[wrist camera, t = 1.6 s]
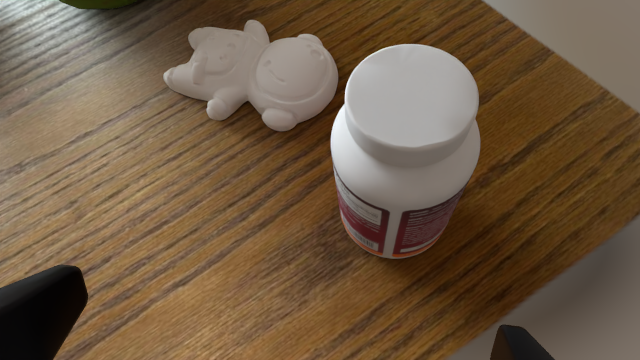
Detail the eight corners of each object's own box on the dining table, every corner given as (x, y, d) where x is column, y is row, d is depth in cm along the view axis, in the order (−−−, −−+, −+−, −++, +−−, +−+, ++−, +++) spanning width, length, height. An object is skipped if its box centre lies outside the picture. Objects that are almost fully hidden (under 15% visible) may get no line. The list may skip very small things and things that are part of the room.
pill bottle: (445, 167, 25) (500, 29, 15) (446, 267, 23) (513, 178, 13) (344, 160, 26) (334, 25, 16) (333, 255, 23) (313, 164, 14)
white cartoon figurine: (213, 18, 33) (200, -15, 30) (355, 55, 30) (354, 22, 27) (153, 103, 29) (132, 75, 27) (306, 154, 26) (300, 128, 24)
